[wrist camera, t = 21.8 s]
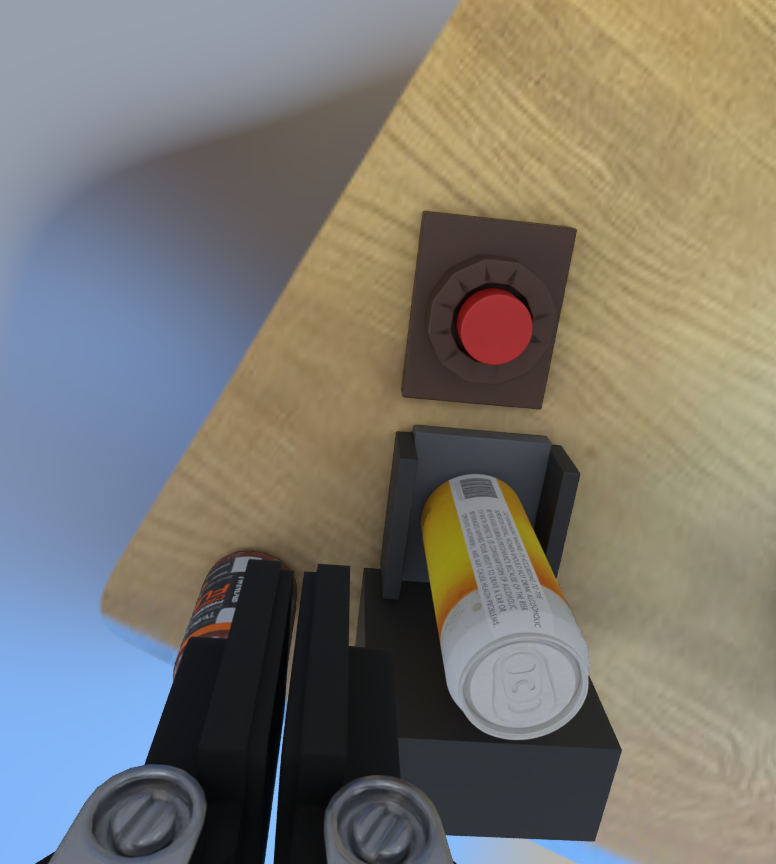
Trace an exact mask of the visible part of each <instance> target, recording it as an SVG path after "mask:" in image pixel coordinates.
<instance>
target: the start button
mask: <svg viewBox="0 0 776 864" xmlns="http://www.w3.org/2000/svg"><path fill="white" fill-rule="evenodd" d="M532 329H533V326H532V319H531V315H530V313H529V311H528V309H527V308H526V307H525V305H524V304H523V303H522V302H521V301H520V300H518V299H517V298H516V297H515V296H514V295H513V294H511V293H510V292H508V291H506V290H502V289H498V288H489V289H484V290H481V291H478V292H477V293H475V294H473V295H472V296H470V297H469V298H468V299H467V300H466V301H465V302H464V304H463V305H462V307H461V309H460V311H459V314H458V317H457V332H458V335H459V338H460V340H461V342H462V344H463V345H464V347H465V349H466V351H467V352H468V353H469V354H470V355H471V356H472V357H473V358H474V359H476V360H477V361H479V362H482V363H485V364H489V365H500V364H504V363H507V362H510V361H512V360H514V359H515V358H517V357H518V356H519V355H520V354H521V353H522V352H523V351H524V350H525V349H526V347H527V345H528V344H529V342H530V339H531V336H532Z"/></svg>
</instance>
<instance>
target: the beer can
mask: <svg viewBox="0 0 776 864" xmlns="http://www.w3.org/2000/svg"><path fill="white" fill-rule="evenodd" d="M421 531H422V537H423V543H424V549H425V555H426V561H427V567H428V573H429V579H430V585H431V591H432V597H433V603H434V609H435V615H436V621H437V627H438V633H439V639H440V645H441V651H442V657H443V663H444V669H445V675H446V681H447V686H448V689H449V692H450V694H451V696H452V698H453V700H454V701H455V703H456V704H457V705H458V706H459V707H460V709H462V710H463V712H464V714H465V715H466V717H467V718H468V719H469V721H470V722H471V723H472V724H473V725H475V726H476V727H477V728H478V729H480V730H481V731H483V732H485V733H487V734H489V735H492V736H494V737H498V738H502V739H509V740H525V739H532V738H537V737H540V736H544V735H546V734H549V733H551V732H553V731H555V730H557V729H559V728H560V727H562V726H564V725H565V724H566V723H567V722H569V721H570V720H571V719H572V718H573V717H574V716H575V715H576V714H577V712H578V711H579V710H580V708H581V707H582V705H583V703H584V701H585V698H586V696H587V692H588V683H589V682H588V675H589V670H590V656H589V651H588V648H587V645H586V643H585V641H584V639H583V636H582V634H581V632H580V630H579V628H578V626H577V623H576V621H575V619H574V617H573V615H572V612H571V610H570V608H569V606H568V604H567V602H566V599H565V597H564V595H563V593H562V591H561V589H560V586H559V584H558V582H557V580H556V578H555V576H554V573H553V571H552V569H551V567H550V565H549V563H548V560H547V558H546V556H545V554H544V552H543V550H542V547H541V545H540V543H539V541H538V539H537V537H536V534H535V532H534V530H533V528H532V526H531V524H530V521H529V519H528V517H527V515H526V513H525V511H524V508H523V506H522V504H521V502H520V500H519V498H518V496H517V495H516V493H515V492H514V491H513V490H512V488H511V487H509V486H508V485H507V484H506V483H504V482H503V481H501V480H499V479H497V478H494V477H491V476H488V475H482V474H469V475H463V476H459V477H456V478H453V479H451V480H449V481H447V482H445V483H443V484H442V485H441V486H439V487H438V488H437V489H436V490H435V491H434V492H433V493H432V494H431V495H430V497H429V498H428V500H427V501H426V503H425V505H424V508H423V510H422V515H421Z"/></svg>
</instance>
